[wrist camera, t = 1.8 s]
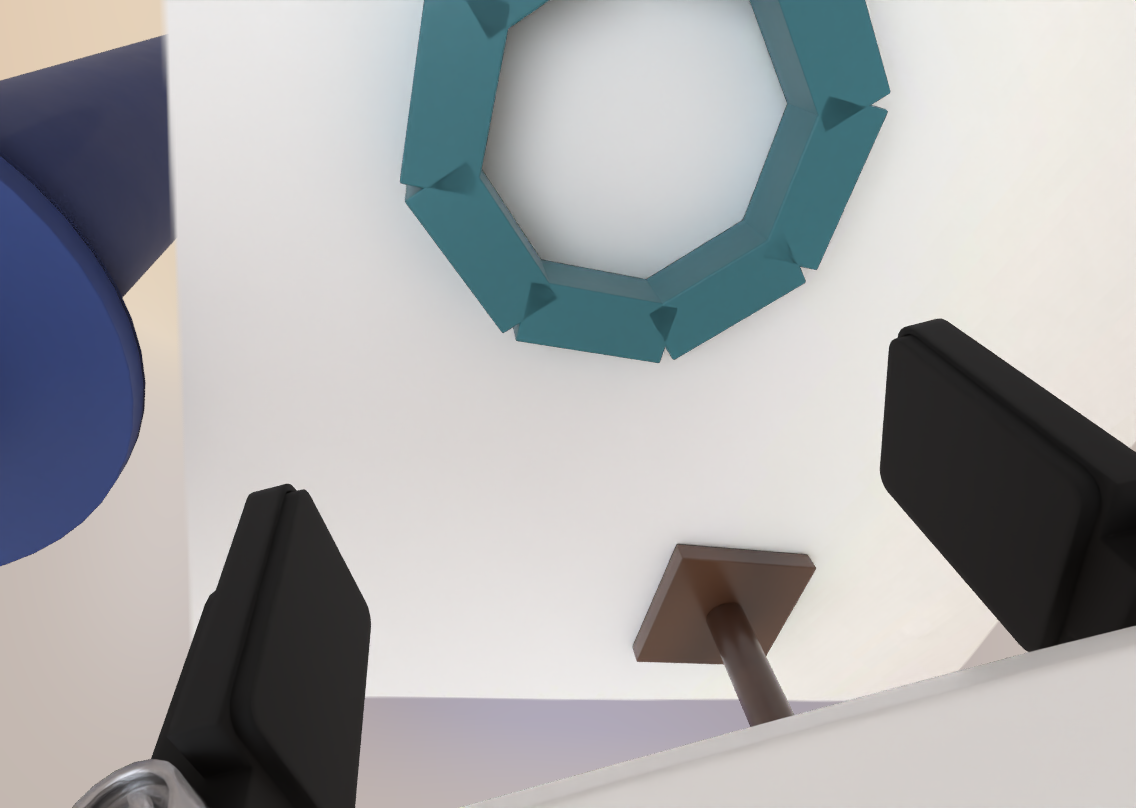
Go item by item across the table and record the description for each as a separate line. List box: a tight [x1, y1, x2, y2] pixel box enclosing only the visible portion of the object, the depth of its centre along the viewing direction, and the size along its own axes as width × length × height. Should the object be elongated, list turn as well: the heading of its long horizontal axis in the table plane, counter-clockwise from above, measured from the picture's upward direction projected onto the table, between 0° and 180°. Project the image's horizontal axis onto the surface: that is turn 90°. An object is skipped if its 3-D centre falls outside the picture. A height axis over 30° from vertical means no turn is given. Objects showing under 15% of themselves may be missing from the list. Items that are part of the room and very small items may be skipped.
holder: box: [633, 544, 816, 727], centre depth 41 cm, size 9×9×10 cm
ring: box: [400, 0, 890, 363], centre depth 27 cm, size 18×18×3 cm
